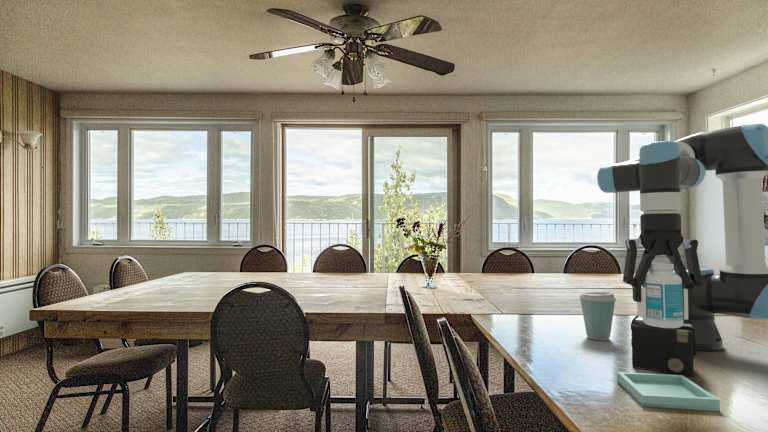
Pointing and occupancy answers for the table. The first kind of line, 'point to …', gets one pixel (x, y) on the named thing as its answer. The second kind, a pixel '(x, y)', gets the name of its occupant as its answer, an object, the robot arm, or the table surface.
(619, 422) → the table surface
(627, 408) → the table surface
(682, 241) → the robot arm
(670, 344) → the camera
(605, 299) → the disposable coffee cup
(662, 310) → the pill bottle
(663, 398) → the tray
